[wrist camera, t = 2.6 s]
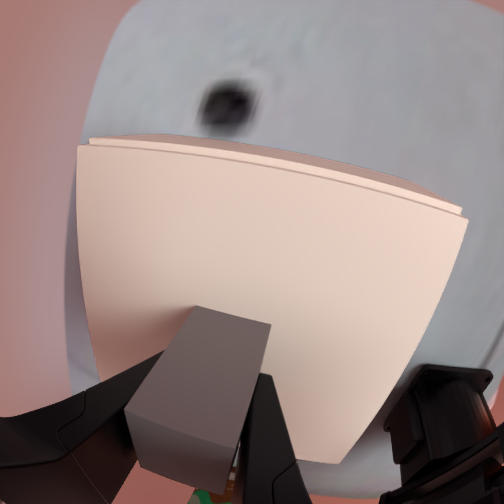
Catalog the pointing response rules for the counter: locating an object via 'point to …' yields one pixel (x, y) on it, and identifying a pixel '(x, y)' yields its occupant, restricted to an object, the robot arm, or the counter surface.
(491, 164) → the counter surface
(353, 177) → the carton
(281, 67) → the counter surface
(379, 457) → the counter surface
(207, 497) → the food container
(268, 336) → the lid
